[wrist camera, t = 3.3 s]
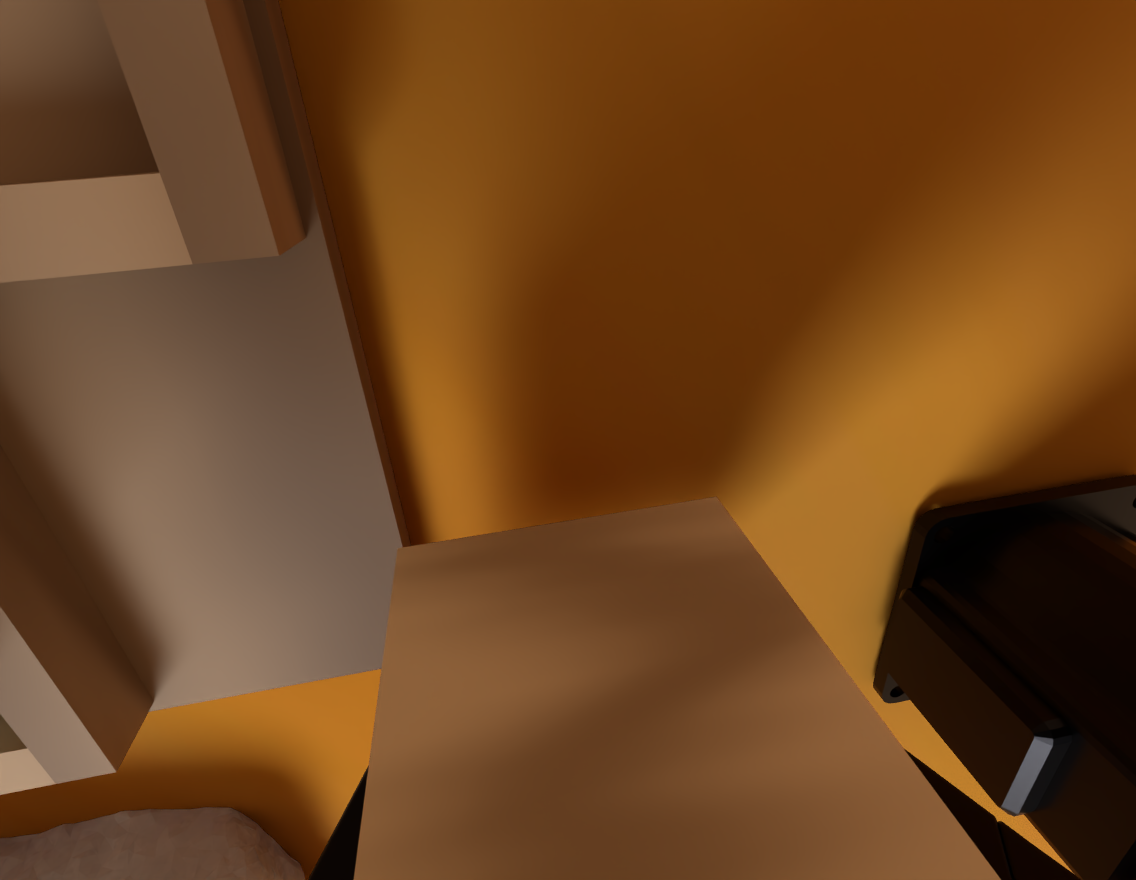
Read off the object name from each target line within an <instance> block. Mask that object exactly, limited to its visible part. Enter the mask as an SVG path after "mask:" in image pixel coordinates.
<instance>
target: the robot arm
mask: <svg viewBox="0 0 1136 880" xmlns="http://www.w3.org/2000/svg"><path fill="white" fill-rule="evenodd" d="M873 688H874V689H875V690H876V691H877V693H878V694H879V695H880V697H881V698H882V699H883V701H884V702H886V703H897V702H902V701H906V700H911V701H912V703H913V704H914V705H915V706H916V707H917V709H918V710H919V711H920V712H921V714H922V715H923V716H924V717H925V718H926V720H927V721H928V722H929V723H930V725H931V726H932V727H933V728H934V729H935V731H936V732H937V733H938V734H939V736H940V737H941V738H942V739H943V740H944V742H945V743H946V744H947V745H948V746H949V748H950V749H951V750H952V751H953V753H954V754H955V755H956V756H957V757H958V759H959V760H960V761H961V762H962V764H963V765H964V766H965V767H966V768H967V770H968V771H969V772H970V773H971V775H972V776H973V777H974V778H975V779H976V781H977V782H978V783H979V784H980V786H981V787H982V788H983V789H984V790H985V792H986V793H987V794H988V795H989V797H990V798H991V799H992V800H993V801H994V803H995V804H996V805H997V806H998V807H999V808H1001V809H1002V810H1003V811H1005V812H1006V813H1007V814H1009V815H1012V816H1018V815H1022V814H1024V815H1025V816H1026V817H1027V819H1028V820H1029V821H1030V822H1031V823H1032V825H1033V826H1034V827H1035V828H1036V829H1037V830H1038V832H1039V833H1040V834H1041V835H1042V836H1043V837H1044V839H1045V840H1046V841H1047V842H1048V843H1049V845H1050V846H1051V847H1052V848H1053V849H1054V850H1055V852H1056V853H1057V854H1058V855H1059V856H1060V858H1061V859H1062V860H1063V861H1064V862H1065V863H1066V865H1067V866H1068V867H1069V868H1070V869H1071V871H1072V872H1073V873H1074V874H1075V875H1074V874H1073V873H1072V872H1070V871H1069V870H1067V869H1066V868H1065V867H1063V866H1062V865H1061V864H1059V863H1058V862H1056V861H1055V860H1054V859H1052V858H1051V857H1049V856H1048V855H1047V854H1045V853H1044V852H1042V851H1041V850H1040V849H1038V848H1037V847H1036V846H1034V845H1033V844H1031V843H1030V842H1029V841H1027V840H1026V839H1025V838H1023V837H1022V836H1021V835H1019V834H1018V833H1017V832H1015V831H1014V830H1013V829H1011V828H1010V827H1009V826H1007V825H1006V824H1005V823H1003V822H1001V821H998V822H997V820H996V818H995V816H994V815H992V814H991V813H990V812H988V811H987V810H985V809H984V808H983V807H981V806H980V805H979V804H977V803H976V802H975V801H973V800H972V799H971V798H969V797H968V796H967V795H965V794H964V793H963V792H961V791H960V790H959V789H957V788H956V787H955V786H953V785H952V784H951V783H949V782H948V781H947V780H945V779H944V778H943V777H941V776H940V775H939V774H937V773H936V772H935V771H933V770H932V769H931V768H929V767H928V766H927V765H925V764H924V763H923V762H921V761H920V760H919V759H917V758H916V757H914V756H913V755H912V754H910V753H909V752H908V751H906V750H905V749H904V750H905V751H906V753H907V754H908V755H909V757H910V758H911V759H912V761H913V762H914V763H915V765H916V766H917V767H918V769H919V770H920V771H921V773H922V774H923V775H924V777H925V778H926V779H927V781H928V782H929V783H930V785H931V786H932V787H933V789H934V790H935V792H936V793H937V794H938V796H939V797H940V798H941V800H942V801H943V802H944V804H945V805H946V806H947V808H948V809H949V810H950V812H951V813H952V814H953V816H954V817H955V818H956V820H957V821H958V822H959V824H960V825H961V827H962V828H963V829H964V831H965V832H966V833H967V835H968V836H969V837H970V839H971V840H972V841H973V843H974V844H975V845H976V847H977V848H978V849H979V851H980V852H981V853H982V855H983V856H984V857H985V859H986V860H987V862H988V863H989V864H990V866H991V867H992V868H993V870H994V871H995V872H996V874H997V875H998V876H999V878H1000V879H1001V880H1136V475H1128V476H1122V477H1116V478H1110V479H1105V480H1099V481H1093V482H1087V483H1081V484H1075V485H1070V486H1064V487H1058V488H1052V489H1046V490H1040V491H1035V492H1029V493H1023V494H1017V495H1011V496H1005V497H1000V498H994V499H988V500H982V501H976V502H970V503H965V504H959V505H953V506H947V507H941V508H936V509H933V510H930V511H928V512H927V513H925V514H924V515H922V516H921V517H920V518H919V520H918V521H917V522H916V524H915V526H914V528H913V532H912V536H911V540H910V543H909V547H908V551H907V555H906V559H905V563H904V567H903V570H902V574H901V578H900V582H899V586H898V590H897V593H896V597H895V601H894V605H893V609H892V613H891V617H890V620H889V624H888V628H887V632H886V636H885V640H884V643H883V647H882V651H881V655H880V659H879V663H878V667H877V670H876V674H875V678H874V682H873ZM368 768H369V766H368ZM368 768H367V769H366V771H365V773H364V775H363V777H362V779H361V781H360V783H359V785H358V786H357V788H356V790H355V792H354V794H353V796H352V798H351V800H350V802H349V803H348V805H347V807H346V809H345V811H344V813H343V815H342V817H341V819H340V820H339V822H338V824H337V826H336V828H335V830H334V832H333V834H332V836H331V837H330V839H329V841H328V843H327V845H326V847H325V849H324V851H323V853H322V854H321V856H320V858H319V860H318V862H317V864H316V866H315V868H314V870H313V871H312V873H311V875H310V877H309V879H308V880H354V874H355V866H356V858H357V851H358V843H359V836H360V828H361V821H362V813H363V806H364V798H365V790H366V783H367V775H368Z"/></svg>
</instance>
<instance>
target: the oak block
mask: <svg viewBox="0 0 1136 880" xmlns="http://www.w3.org/2000/svg"><path fill="white" fill-rule="evenodd" d="M354 880H1001V879H1000V878H999V876H998V875H997V874H996V872H995V871H994V870H993V868H992V867H991V866H990V864H989V863H988V862H987V860H986V859H985V857H984V856H983V855H982V853H981V852H980V851H979V849H978V848H977V847H976V845H975V844H974V843H973V841H972V840H971V839H970V837H969V836H968V835H967V833H966V832H965V831H964V829H963V828H962V827H961V825H960V824H959V822H958V821H957V820H956V818H955V817H954V816H953V814H952V813H951V812H950V810H949V809H948V808H947V806H946V805H945V804H944V802H943V801H942V800H941V798H940V797H939V796H938V794H937V793H936V792H935V790H934V789H933V787H932V786H931V785H930V783H929V782H928V781H927V779H926V778H925V777H924V775H923V774H922V773H921V771H920V770H919V769H918V767H917V766H916V765H915V763H914V762H913V761H912V759H911V758H910V757H909V755H908V754H907V753H906V751H905V750H904V748H903V747H902V746H901V744H900V743H899V742H898V740H897V739H896V738H895V736H894V735H893V734H892V732H891V731H890V730H889V728H888V727H887V726H886V724H885V723H884V722H883V720H882V719H881V718H880V716H879V715H878V713H877V712H876V711H875V709H874V708H873V707H872V705H871V704H870V703H869V701H868V700H867V699H866V697H865V696H864V695H863V693H862V692H861V691H860V689H859V688H858V687H857V685H856V684H855V683H854V681H853V680H852V678H851V677H850V676H849V674H848V673H847V672H846V670H845V669H844V668H843V666H842V665H841V664H840V662H839V661H838V660H837V658H836V657H835V656H834V654H833V653H832V652H831V650H830V649H829V648H828V646H827V645H826V644H825V642H824V641H823V639H822V638H821V637H820V635H819V634H818V633H817V631H816V630H815V629H814V627H813V626H812V625H811V623H810V622H809V621H808V619H807V618H806V617H805V615H804V614H803V613H802V611H801V610H800V609H799V607H798V606H797V604H796V603H795V602H794V600H793V599H792V598H791V596H790V595H789V594H788V592H787V591H786V590H785V588H784V587H783V586H782V584H781V583H780V582H779V580H778V579H777V578H776V576H775V575H774V574H773V572H772V571H771V570H770V568H769V567H768V565H767V564H766V563H765V561H764V560H763V559H762V557H761V556H760V555H759V553H758V552H757V551H756V549H755V548H754V547H753V545H752V544H751V543H750V541H749V540H748V539H747V537H746V536H745V535H744V533H743V532H742V530H741V529H740V528H739V526H738V525H737V524H736V522H735V521H734V520H733V518H732V517H731V516H730V514H729V513H728V512H727V510H726V509H725V508H724V506H723V505H722V504H721V502H720V501H719V500H718V498H717V497H712V498H705V499H699V500H693V501H687V502H681V503H675V504H668V505H662V506H656V507H650V508H644V509H637V510H631V511H625V512H619V513H613V514H607V515H600V516H594V517H588V518H582V519H576V520H570V521H563V522H557V523H551V524H545V525H539V526H532V527H526V528H520V529H514V530H508V531H502V532H495V533H489V534H483V535H477V536H471V537H465V538H458V539H452V540H446V541H440V542H434V543H428V544H421V545H415V546H409V547H403V548H398V549H397V556H396V564H395V571H394V579H393V586H392V594H391V601H390V609H389V617H388V624H387V632H386V639H385V647H384V654H383V662H382V669H381V677H380V685H379V692H378V700H377V707H376V715H375V722H374V730H373V737H372V745H371V753H370V760H369V768H368V775H367V783H366V790H365V798H364V806H363V813H362V821H361V828H360V836H359V843H358V851H357V858H356V866H355V874H354Z"/></svg>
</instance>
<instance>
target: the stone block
mask: <svg viewBox="0 0 1136 880" xmlns="http://www.w3.org/2000/svg"><path fill="white" fill-rule="evenodd" d="M0 880H305V876H304V873H303V870H302V868H301V864H300V863H299V862H297V861H296V860H294V859H293V858H291V857H290V856H289V855H288V854H287V853H286V852H285V851H284V850H283V849H282V848H281V846H280V845H279V844H278V843H276V841H275V840H274V839H273V838H272V837H271V836H269V835H268V834H267V833H265V832H264V831H263V830H262V828H261V827H260V826H259V825H258V824H257V823H256V822H254V821H253V820H251V819H250V818H248V817H247V816H245V815H244V814H242V813H241V812H239V811H237V810H234V809H232V808H229V807H225V808H214V807H204V808H196V809H145V810H136V811H121V812H118V813H116V814H112V815H108V816H103V817H99V818H96V819H92V820H88V821H84V822H79V823H75V824H62V825H60V826H57V827H55V828H53V829H50V830H48V831H45V832H43V833H40V834H33V835H24V836H18V837H13V838H0Z"/></svg>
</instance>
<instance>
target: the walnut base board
mask: <svg viewBox="0 0 1136 880" xmlns="http://www.w3.org/2000/svg"><path fill="white" fill-rule="evenodd" d="M409 546H411V543H410V539H409V535H408V531H407V527H406V523H405V519H404V515H403V510H402V506H401V502H400V498H399V494H398V490H397V486H396V482H395V478H394V474H393V469H392V465H391V461H390V457H389V453H388V449H387V445H386V441H385V437H384V432H383V428H382V424H381V420H380V416H379V412H378V408H377V404H376V400H375V396H374V391H373V387H372V383H371V379H370V375H369V371H368V367H367V363H366V359H365V355H364V350H363V346H362V342H361V338H360V334H359V330H358V326H357V322H356V318H355V313H354V309H353V305H352V301H351V297H350V293H349V289H348V285H347V281H346V277H345V272H344V268H343V264H342V260H341V256H340V252H339V248H338V244H337V240H336V235H335V231H334V227H333V223H332V219H331V215H330V211H329V207H328V203H327V199H326V194H325V190H324V186H323V182H322V178H321V174H320V170H319V166H318V162H317V158H316V153H315V149H314V145H313V141H312V137H311V133H310V129H309V125H308V121H307V116H306V112H305V108H304V104H303V100H302V96H301V92H300V88H299V84H298V80H297V75H296V71H295V67H294V63H293V59H292V55H291V51H290V47H289V43H288V39H287V34H286V30H285V26H284V22H283V18H282V14H281V10H280V6H279V2H278V0H0V795H2V794H7V793H12V792H18V791H23V790H28V789H33V788H38V787H43V786H48V785H53V784H58V783H63V782H69V781H74V780H79V779H84V778H89V777H94V776H99V775H104V774H109V773H115V772H117V770H118V768H119V767H120V765H121V763H122V761H123V759H124V757H125V755H126V753H127V751H128V750H129V748H130V746H131V744H132V742H133V740H134V738H135V736H136V735H137V733H138V731H139V729H140V727H141V725H142V723H143V721H144V720H145V718H146V716H147V714H148V712H150V711H155V710H161V709H166V708H171V707H177V706H182V705H188V704H193V703H198V702H204V701H209V700H215V699H220V698H225V697H231V696H236V695H242V694H247V693H252V692H258V691H263V690H269V689H274V688H279V687H285V686H290V685H296V684H301V683H306V682H312V681H317V680H323V679H328V678H333V677H339V676H344V675H350V674H355V673H361V672H366V671H371V670H377V669H382V662H383V654H384V647H385V639H386V632H387V624H388V617H389V609H390V601H391V594H392V586H393V579H394V571H395V564H396V556H397V549H398V548H403V547H409Z"/></svg>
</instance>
